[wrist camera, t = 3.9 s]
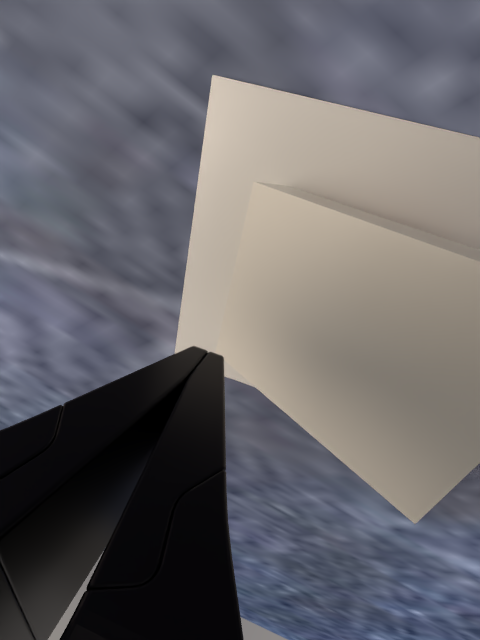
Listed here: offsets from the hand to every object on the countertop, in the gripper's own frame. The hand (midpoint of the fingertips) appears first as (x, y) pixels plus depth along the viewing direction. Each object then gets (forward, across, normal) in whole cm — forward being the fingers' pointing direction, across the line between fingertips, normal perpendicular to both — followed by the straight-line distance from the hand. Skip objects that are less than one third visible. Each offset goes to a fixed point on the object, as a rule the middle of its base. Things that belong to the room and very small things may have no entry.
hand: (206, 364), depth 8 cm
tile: (+7, 0, 0) cm, 7 cm away
